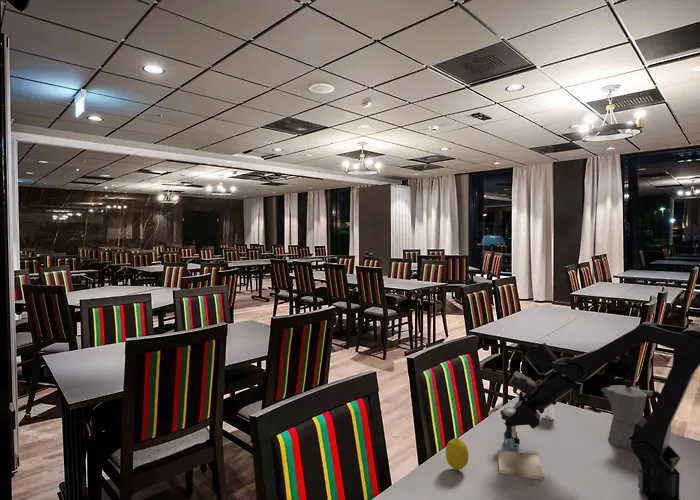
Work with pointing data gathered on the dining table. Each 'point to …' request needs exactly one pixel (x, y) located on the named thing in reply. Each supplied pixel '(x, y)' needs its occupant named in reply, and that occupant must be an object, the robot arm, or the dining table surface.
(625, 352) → the robot arm
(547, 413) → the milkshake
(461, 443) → the lemon
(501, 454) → the birch pad
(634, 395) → the coffeepot
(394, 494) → the dining table surface
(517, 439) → the push button
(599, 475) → the dining table surface
